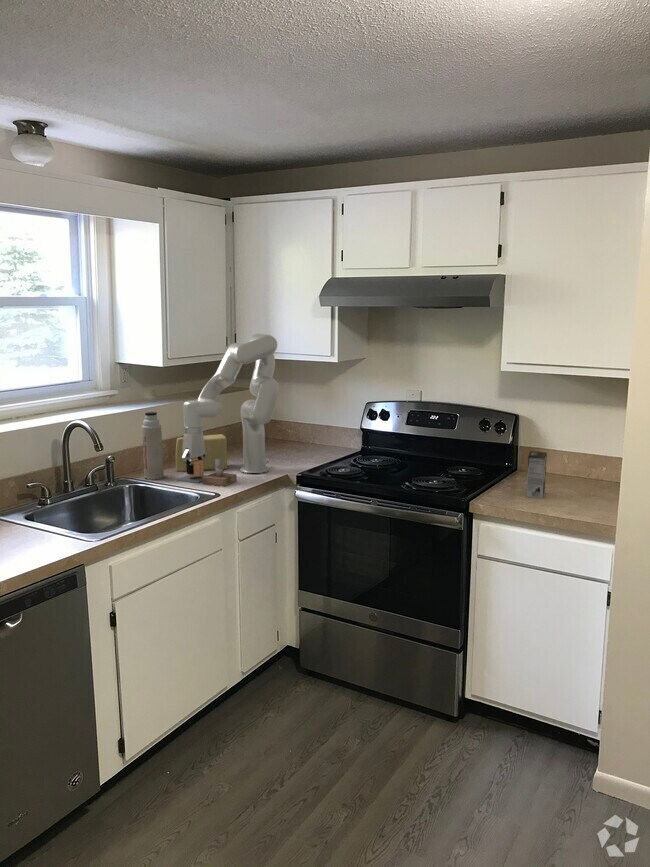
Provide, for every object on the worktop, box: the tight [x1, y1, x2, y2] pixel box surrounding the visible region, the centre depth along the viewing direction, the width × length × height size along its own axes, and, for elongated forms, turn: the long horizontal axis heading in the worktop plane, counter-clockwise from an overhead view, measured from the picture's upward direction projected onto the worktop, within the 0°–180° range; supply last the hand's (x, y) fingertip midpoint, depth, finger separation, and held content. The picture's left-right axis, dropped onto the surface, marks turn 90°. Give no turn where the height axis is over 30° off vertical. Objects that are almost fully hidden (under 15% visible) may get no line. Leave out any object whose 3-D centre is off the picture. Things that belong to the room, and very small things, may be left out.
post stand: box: [202, 458, 238, 487], centre depth 297 cm, size 10×10×10 cm
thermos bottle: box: [141, 411, 165, 480], centre depth 305 cm, size 8×8×28 cm
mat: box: [176, 474, 208, 484], centre depth 304 cm, size 11×11×1 cm
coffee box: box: [526, 450, 548, 499], centre depth 275 cm, size 9×6×16 cm
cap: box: [187, 459, 205, 477], centre depth 303 cm, size 6×6×6 cm
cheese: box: [175, 433, 228, 472], centre depth 321 cm, size 22×10×15 cm, turn 109°
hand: (195, 471), depth 304 cm, fingers closed on cap, 6 cm apart
